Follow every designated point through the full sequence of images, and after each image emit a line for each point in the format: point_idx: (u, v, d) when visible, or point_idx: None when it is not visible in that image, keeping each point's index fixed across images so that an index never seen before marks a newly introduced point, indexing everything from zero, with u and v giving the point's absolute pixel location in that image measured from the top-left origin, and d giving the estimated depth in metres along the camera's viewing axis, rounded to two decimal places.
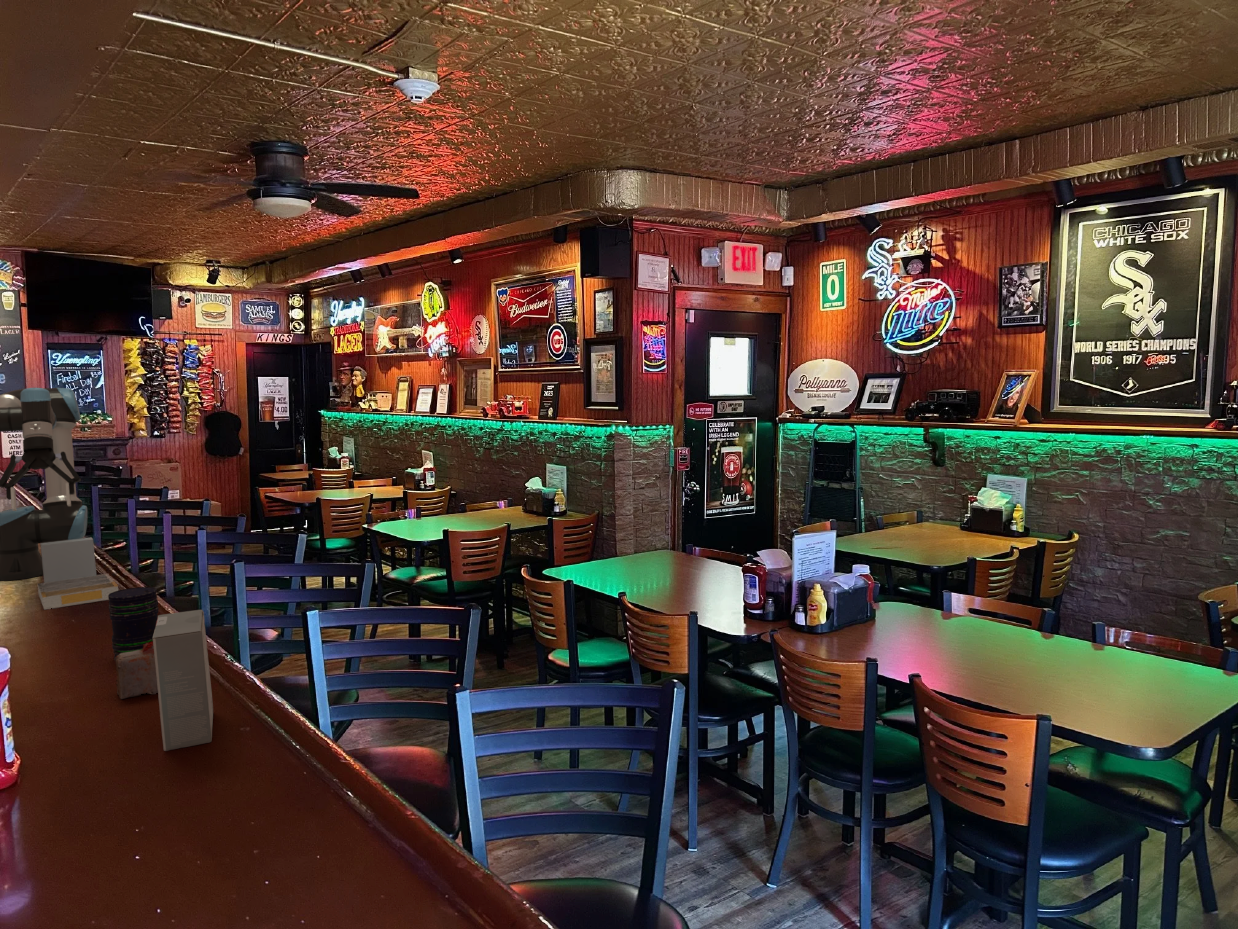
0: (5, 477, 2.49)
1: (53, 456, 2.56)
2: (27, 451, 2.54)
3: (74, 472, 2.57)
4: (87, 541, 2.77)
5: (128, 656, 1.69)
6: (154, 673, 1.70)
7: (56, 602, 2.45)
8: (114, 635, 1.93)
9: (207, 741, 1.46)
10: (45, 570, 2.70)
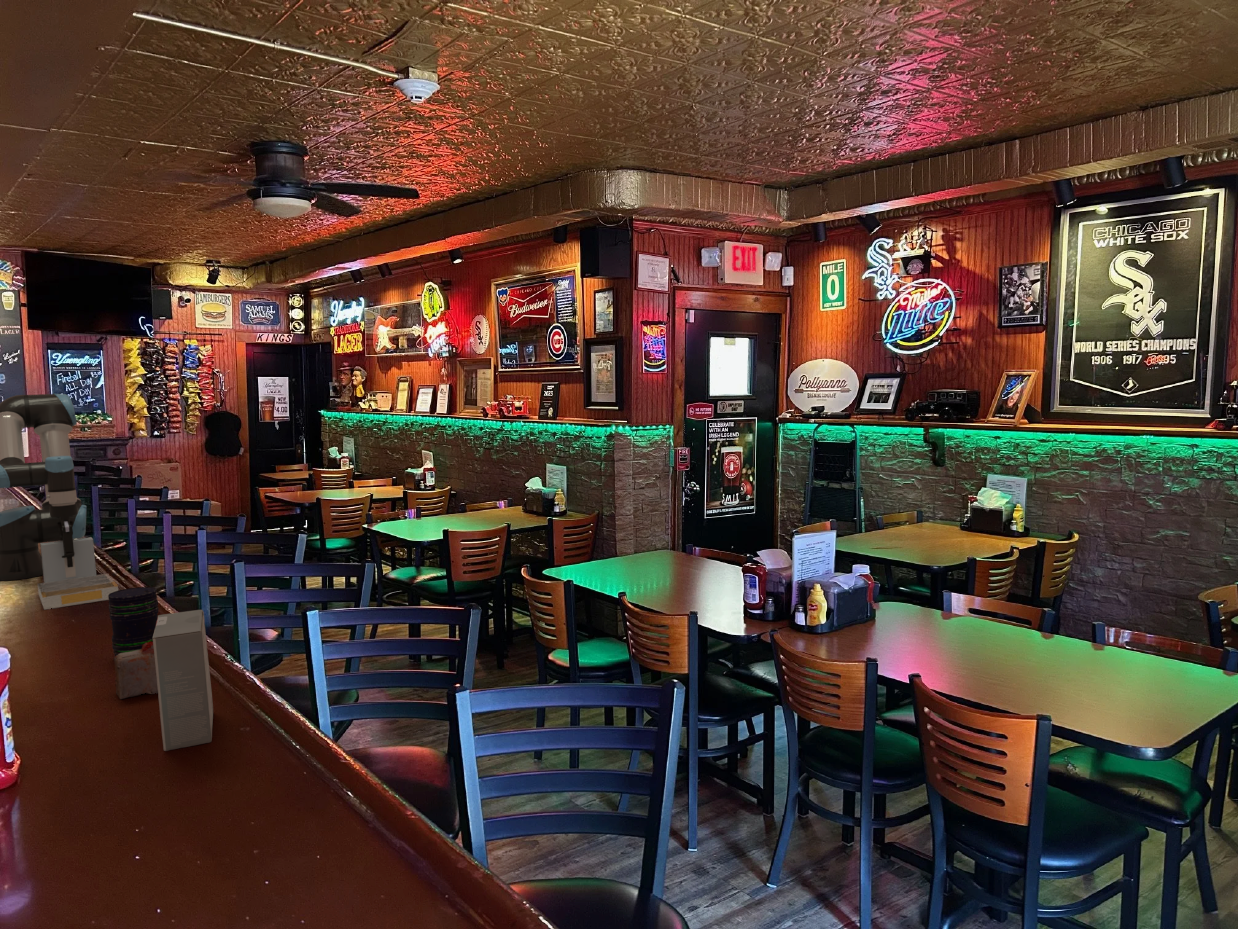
0: None
1: (62, 524, 2.71)
2: None
3: (64, 548, 2.70)
4: (87, 541, 2.77)
5: (127, 656, 1.70)
6: (154, 673, 1.70)
7: (56, 602, 2.45)
8: (114, 635, 1.93)
9: (207, 741, 1.46)
10: (45, 570, 2.70)
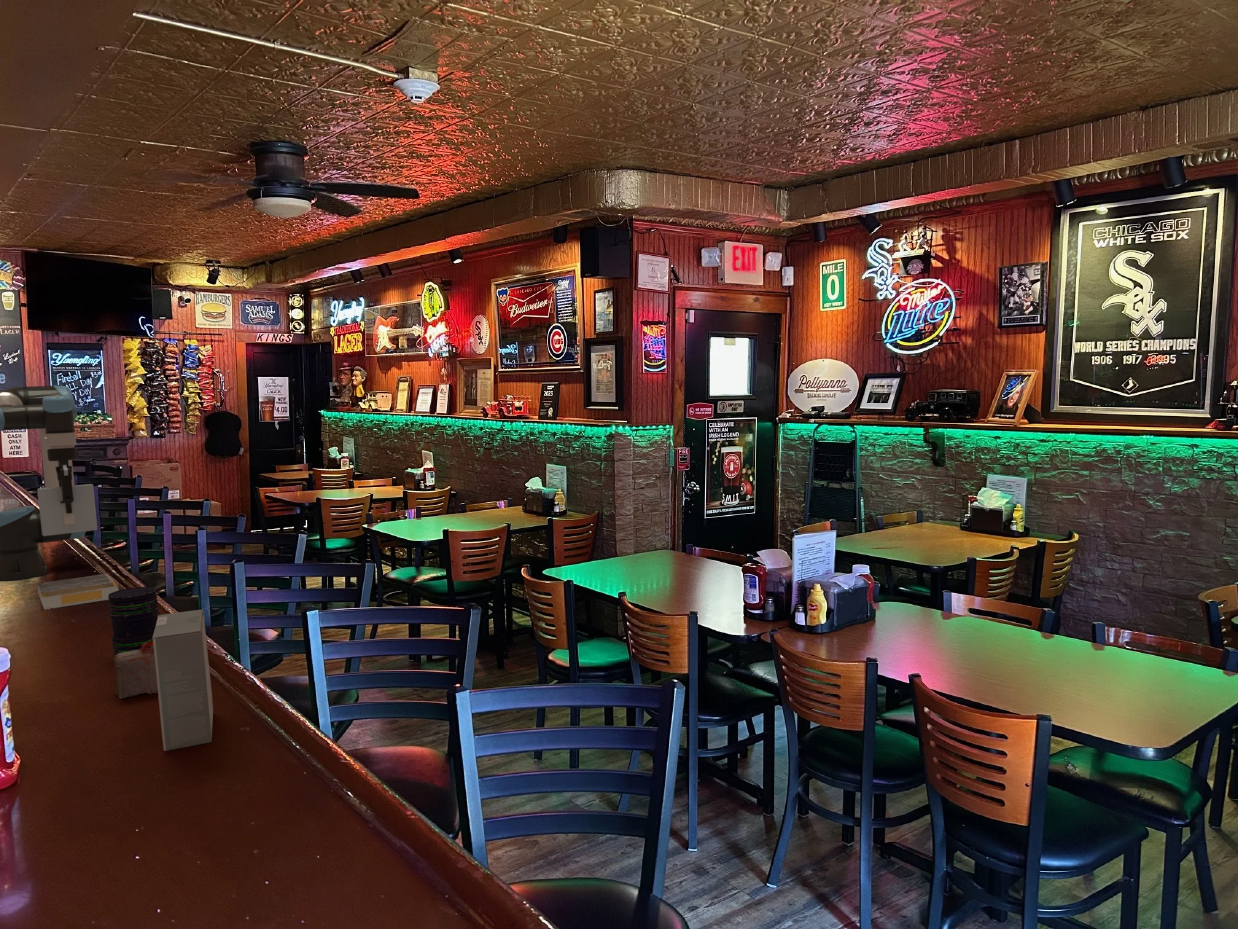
0: None
1: (60, 468, 2.57)
2: None
3: (63, 493, 2.56)
4: (87, 487, 2.62)
5: (127, 656, 1.70)
6: (153, 673, 1.71)
7: (56, 602, 2.45)
8: (114, 635, 1.93)
9: (207, 741, 1.46)
10: (42, 516, 2.55)
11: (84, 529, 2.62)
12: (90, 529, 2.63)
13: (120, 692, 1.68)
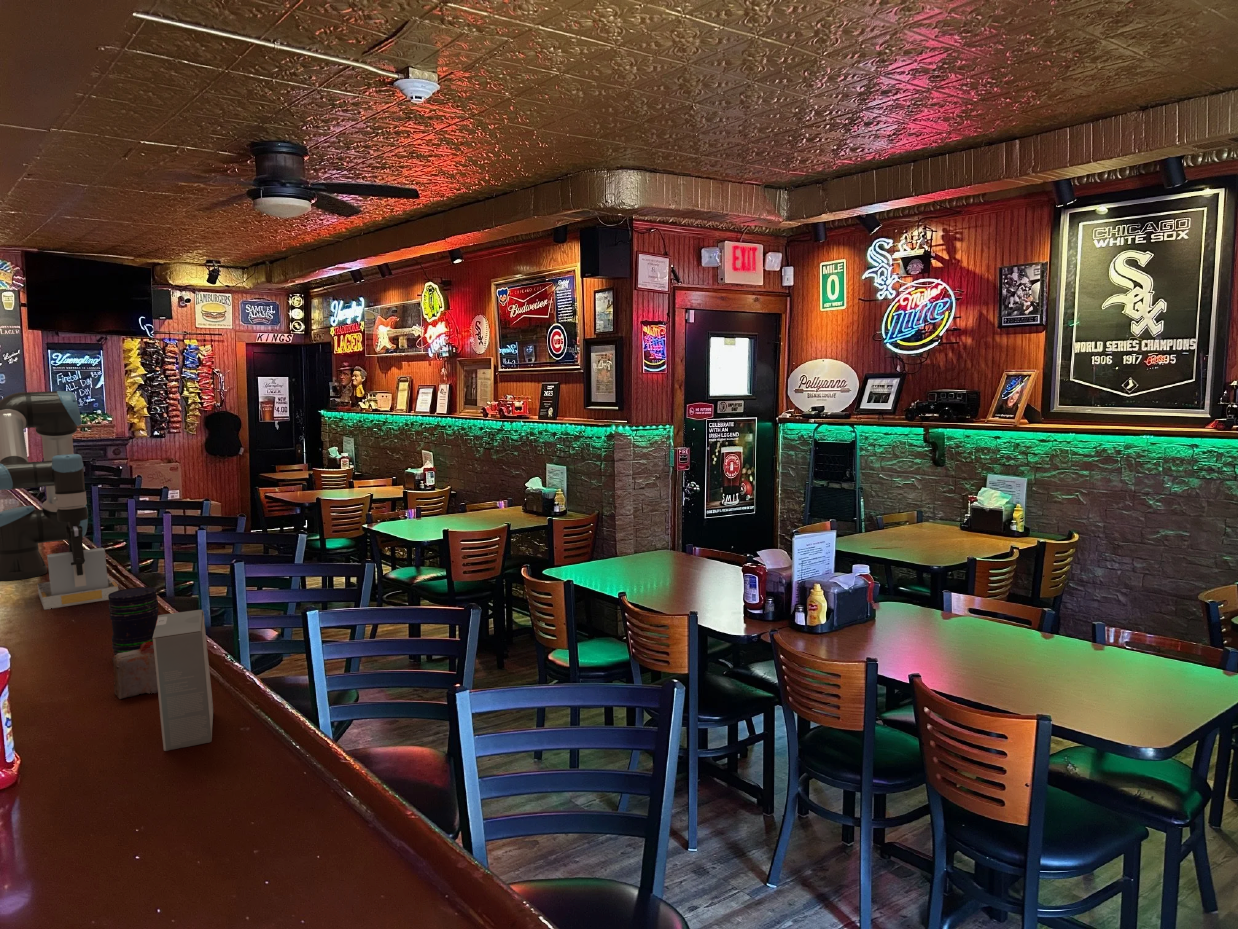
0: None
1: (70, 529, 2.47)
2: None
3: (73, 554, 2.44)
4: (98, 552, 2.52)
5: (126, 656, 1.70)
6: (153, 672, 1.71)
7: (56, 602, 2.45)
8: (114, 635, 1.93)
9: (207, 741, 1.46)
10: (52, 584, 2.46)
11: None
12: None
13: (120, 692, 1.68)
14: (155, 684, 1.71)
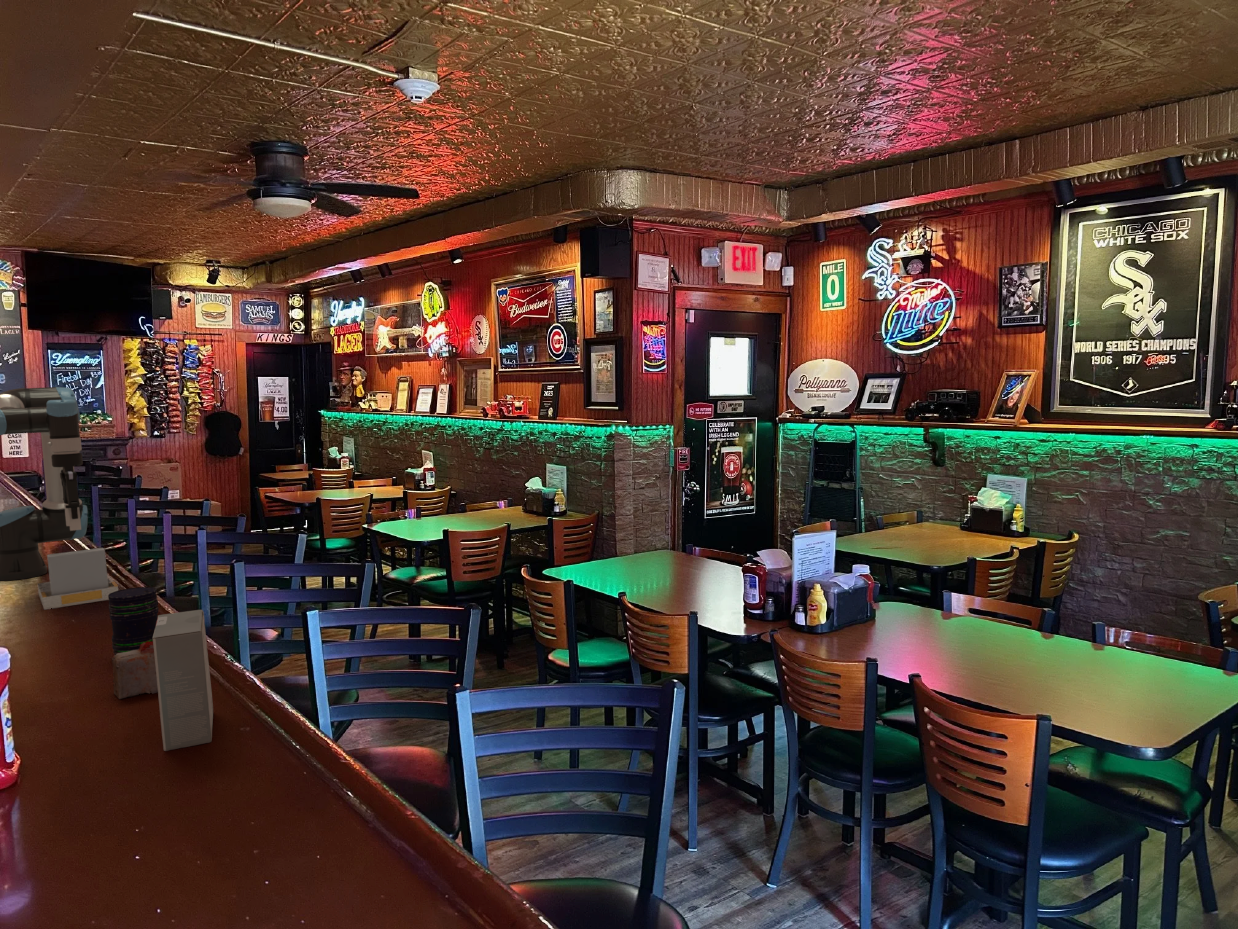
0: (63, 492, 2.54)
1: None
2: None
3: (68, 497, 2.42)
4: (98, 552, 2.52)
5: (126, 656, 1.70)
6: (153, 672, 1.71)
7: (56, 602, 2.45)
8: (114, 635, 1.93)
9: (207, 741, 1.46)
10: (52, 584, 2.46)
11: None
12: None
13: (119, 692, 1.68)
14: (155, 684, 1.71)
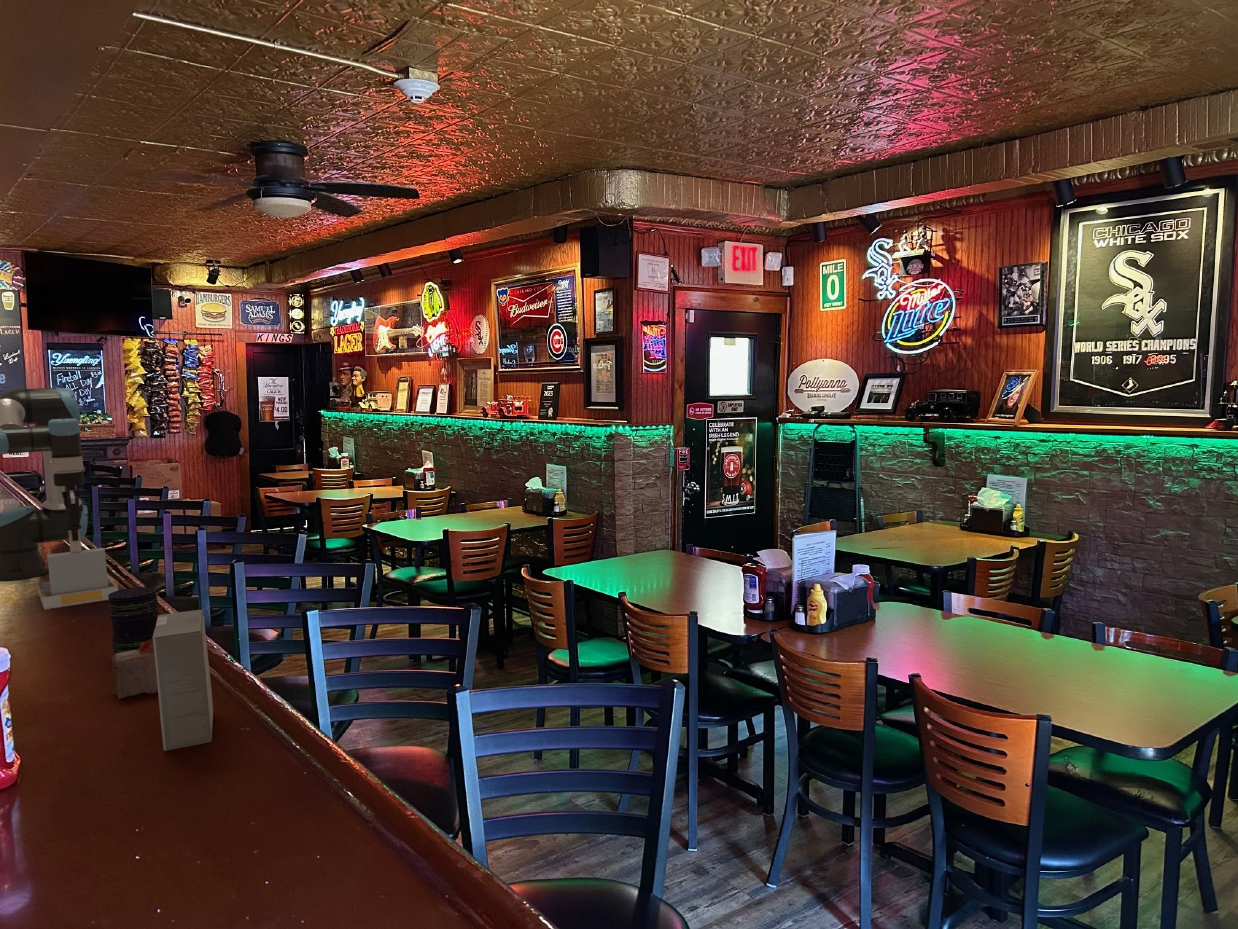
0: None
1: (67, 493, 2.46)
2: None
3: (69, 520, 2.46)
4: (98, 552, 2.52)
5: (125, 656, 1.70)
6: (152, 672, 1.71)
7: (56, 602, 2.45)
8: (114, 635, 1.93)
9: (207, 741, 1.46)
10: (52, 584, 2.46)
11: None
12: None
13: (119, 692, 1.68)
14: (154, 684, 1.71)
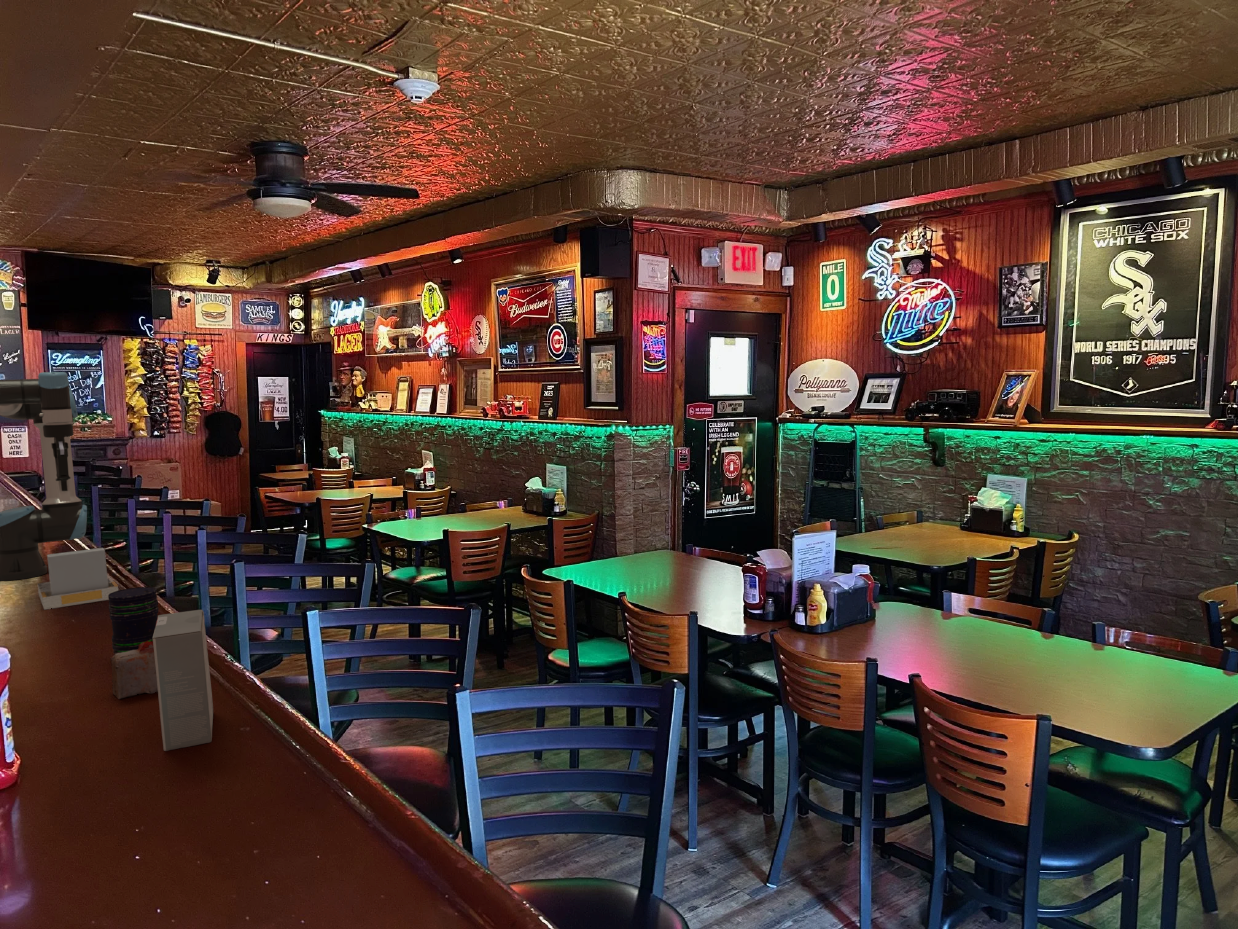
0: (56, 468, 2.60)
1: (56, 445, 2.53)
2: None
3: (58, 471, 2.54)
4: (98, 552, 2.52)
5: (125, 656, 1.70)
6: (152, 672, 1.71)
7: (56, 602, 2.45)
8: (114, 635, 1.93)
9: (207, 741, 1.46)
10: (52, 584, 2.46)
11: None
12: None
13: (119, 692, 1.68)
14: (154, 684, 1.71)
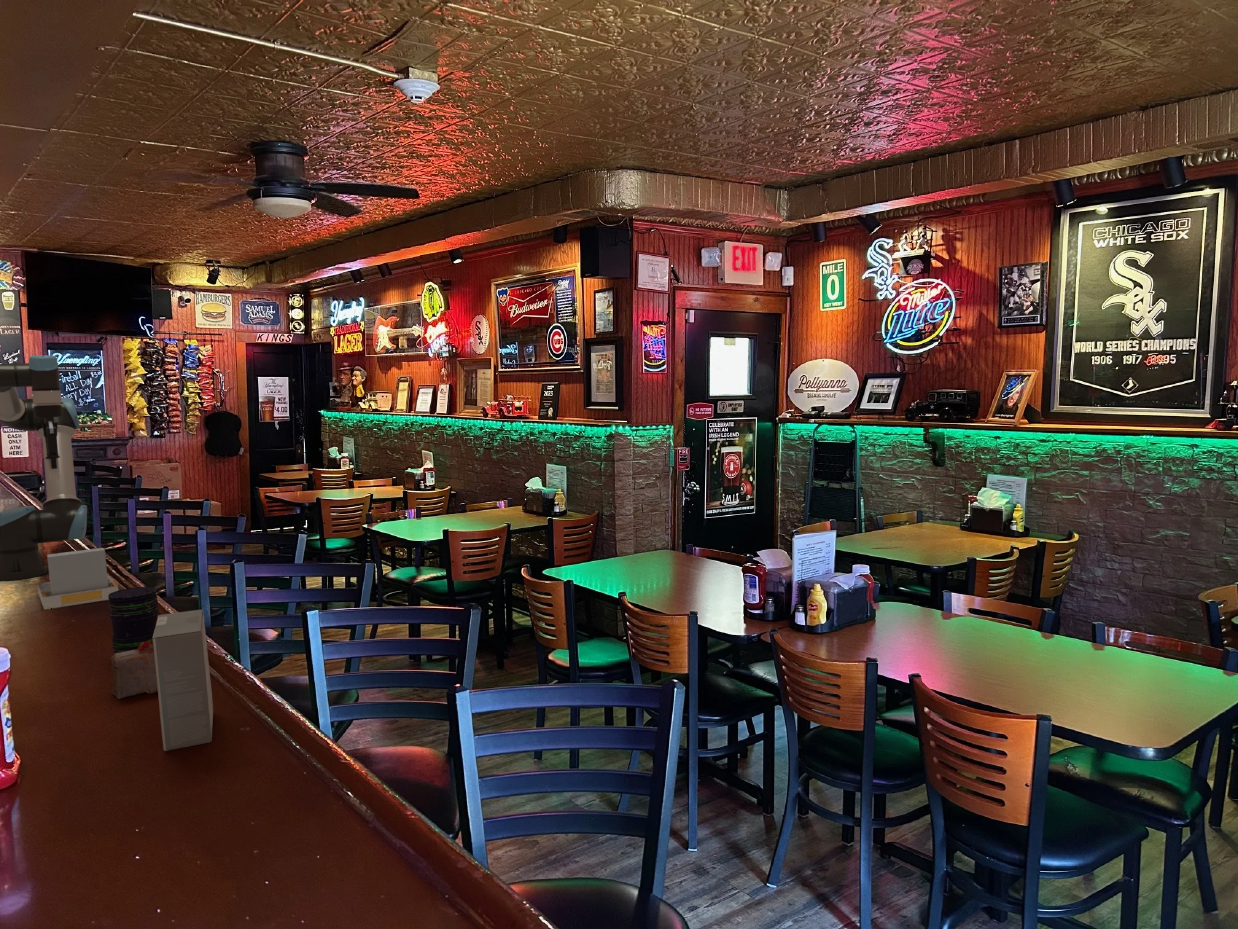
0: (46, 447, 2.73)
1: (46, 424, 2.66)
2: None
3: (48, 449, 2.67)
4: (98, 552, 2.52)
5: (125, 656, 1.70)
6: (152, 672, 1.71)
7: (56, 602, 2.45)
8: (114, 635, 1.93)
9: (207, 741, 1.46)
10: (52, 584, 2.46)
11: None
12: None
13: (119, 692, 1.68)
14: (154, 684, 1.72)
